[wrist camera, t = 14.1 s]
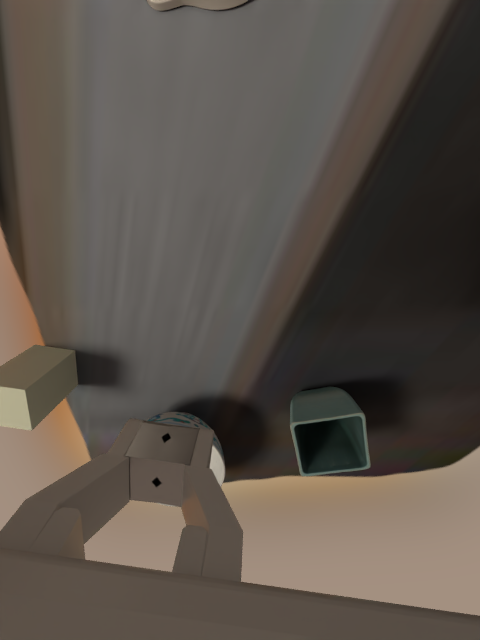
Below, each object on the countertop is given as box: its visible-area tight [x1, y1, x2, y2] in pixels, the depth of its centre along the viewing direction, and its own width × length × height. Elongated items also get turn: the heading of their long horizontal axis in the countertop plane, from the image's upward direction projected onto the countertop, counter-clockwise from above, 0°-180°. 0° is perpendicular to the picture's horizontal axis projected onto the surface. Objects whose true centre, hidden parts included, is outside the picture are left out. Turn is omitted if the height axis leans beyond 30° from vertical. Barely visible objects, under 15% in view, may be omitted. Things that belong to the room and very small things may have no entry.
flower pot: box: [290, 387, 370, 476], centre depth 40 cm, size 9×9×9 cm
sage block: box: [0, 345, 78, 431], centre depth 39 cm, size 6×6×10 cm
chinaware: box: [146, 412, 225, 507], centre depth 44 cm, size 15×15×8 cm
